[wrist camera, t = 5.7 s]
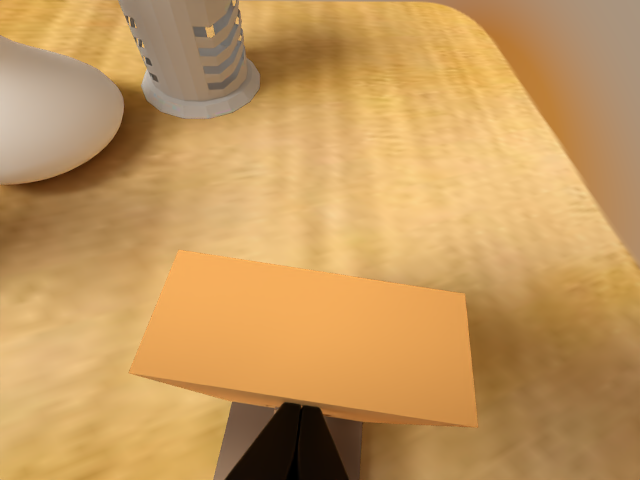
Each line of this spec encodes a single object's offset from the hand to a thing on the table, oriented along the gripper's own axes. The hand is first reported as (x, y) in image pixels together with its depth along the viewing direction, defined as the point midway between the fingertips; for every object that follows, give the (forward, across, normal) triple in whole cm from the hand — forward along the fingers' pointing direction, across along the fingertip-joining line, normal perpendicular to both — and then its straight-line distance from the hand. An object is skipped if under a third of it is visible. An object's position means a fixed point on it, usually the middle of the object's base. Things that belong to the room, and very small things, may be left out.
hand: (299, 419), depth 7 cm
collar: (+7, 0, +4) cm, 8 cm away
